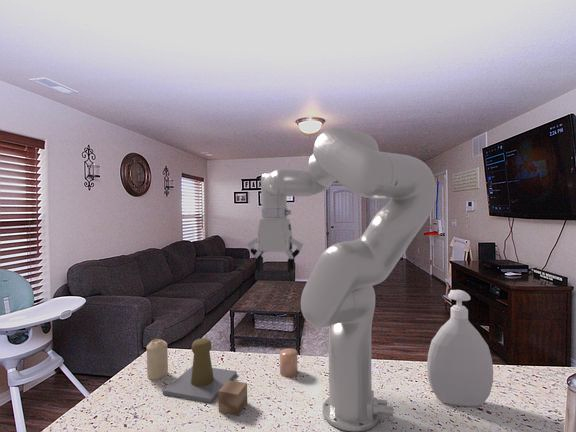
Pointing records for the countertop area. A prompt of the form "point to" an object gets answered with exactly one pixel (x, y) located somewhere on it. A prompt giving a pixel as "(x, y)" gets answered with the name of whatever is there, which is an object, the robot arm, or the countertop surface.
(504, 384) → the countertop surface
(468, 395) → the soap bottle
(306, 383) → the countertop surface
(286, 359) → the peach blob
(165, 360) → the candle
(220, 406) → the walnut block
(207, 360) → the olive tall rounded piece
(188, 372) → the slate tile
